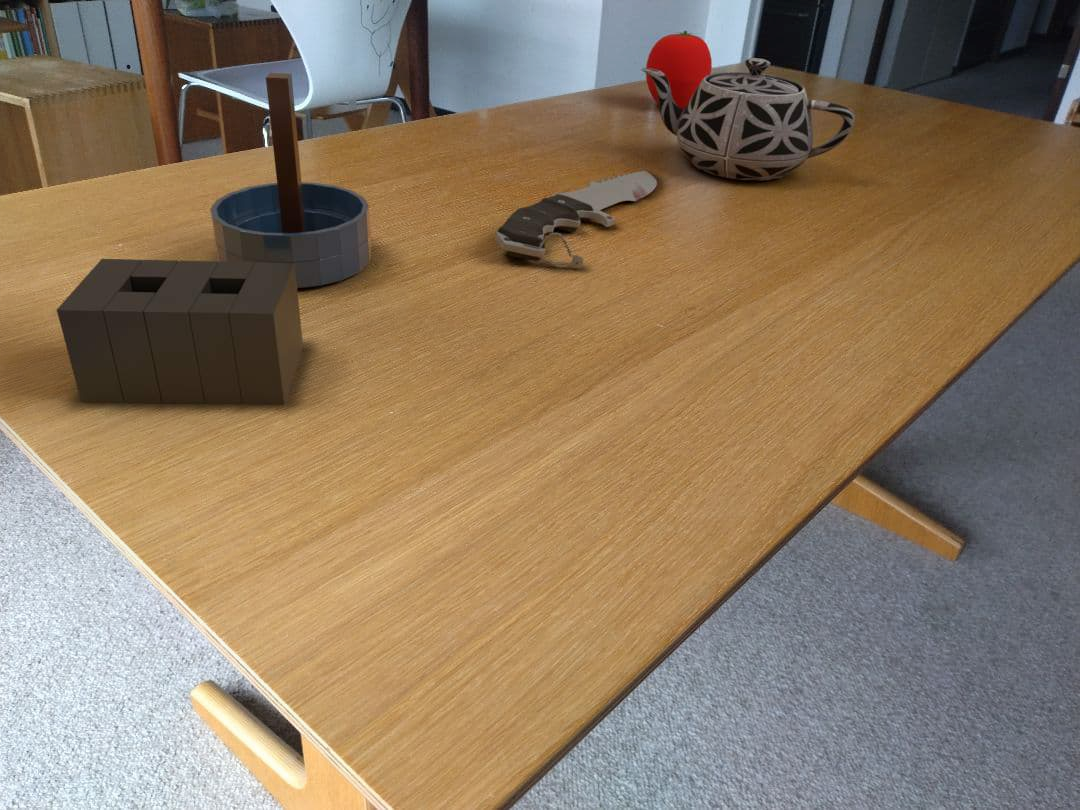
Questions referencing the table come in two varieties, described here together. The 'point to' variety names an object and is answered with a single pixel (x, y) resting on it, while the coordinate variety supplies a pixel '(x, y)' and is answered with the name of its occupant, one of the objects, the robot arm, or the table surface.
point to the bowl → (318, 254)
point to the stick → (286, 151)
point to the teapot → (747, 123)
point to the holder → (184, 332)
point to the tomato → (680, 65)
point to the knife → (568, 215)
